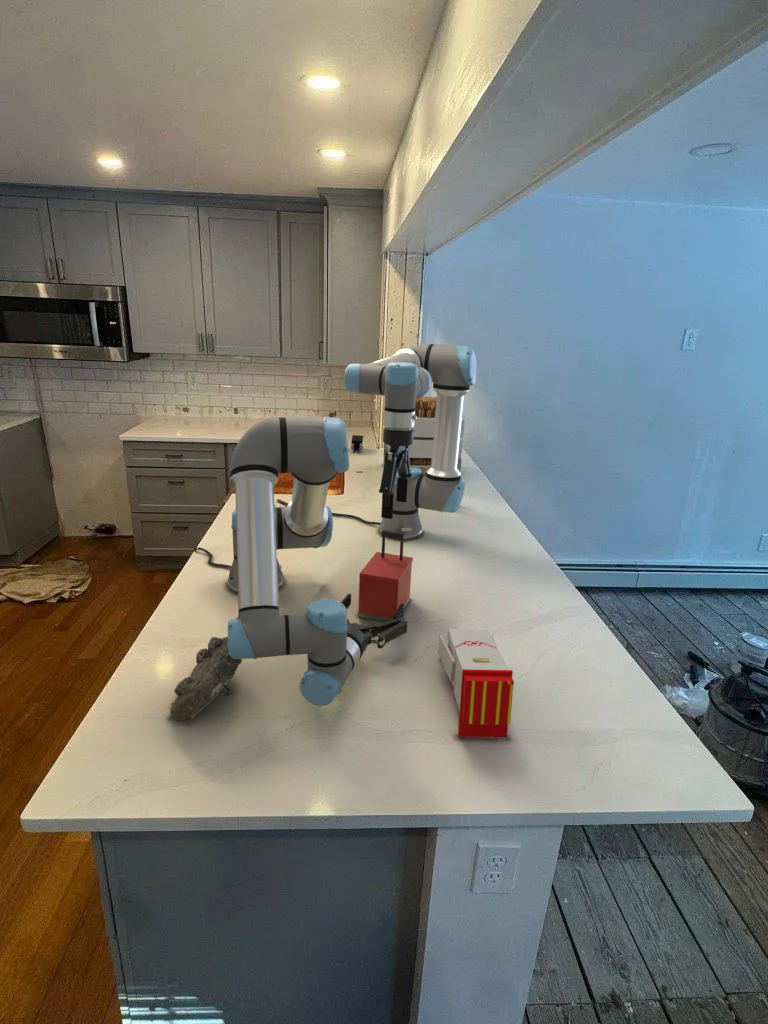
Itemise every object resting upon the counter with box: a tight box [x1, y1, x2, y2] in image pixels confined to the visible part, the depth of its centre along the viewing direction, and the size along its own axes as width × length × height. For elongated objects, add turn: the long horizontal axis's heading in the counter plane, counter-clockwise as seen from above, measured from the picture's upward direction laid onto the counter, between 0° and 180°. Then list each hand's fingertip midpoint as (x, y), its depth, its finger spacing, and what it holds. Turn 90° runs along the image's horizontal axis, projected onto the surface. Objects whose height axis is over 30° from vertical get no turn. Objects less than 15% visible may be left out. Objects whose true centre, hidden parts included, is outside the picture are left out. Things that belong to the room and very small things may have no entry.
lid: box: [359, 529, 414, 584], centre depth 146 cm, size 14×10×9 cm
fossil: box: [169, 636, 243, 721], centre depth 114 cm, size 22×10×15 cm
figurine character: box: [350, 434, 364, 454], centre depth 311 cm, size 7×8×15 cm
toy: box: [437, 628, 515, 738], centre depth 117 cm, size 12×13×30 cm
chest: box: [357, 562, 413, 622], centre depth 149 cm, size 14×10×11 cm
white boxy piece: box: [383, 396, 465, 474], centre depth 268 cm, size 34×33×41 cm
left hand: (375, 603), depth 139 cm, fingers open, 13 cm apart
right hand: (394, 509), depth 146 cm, fingers open, 13 cm apart
